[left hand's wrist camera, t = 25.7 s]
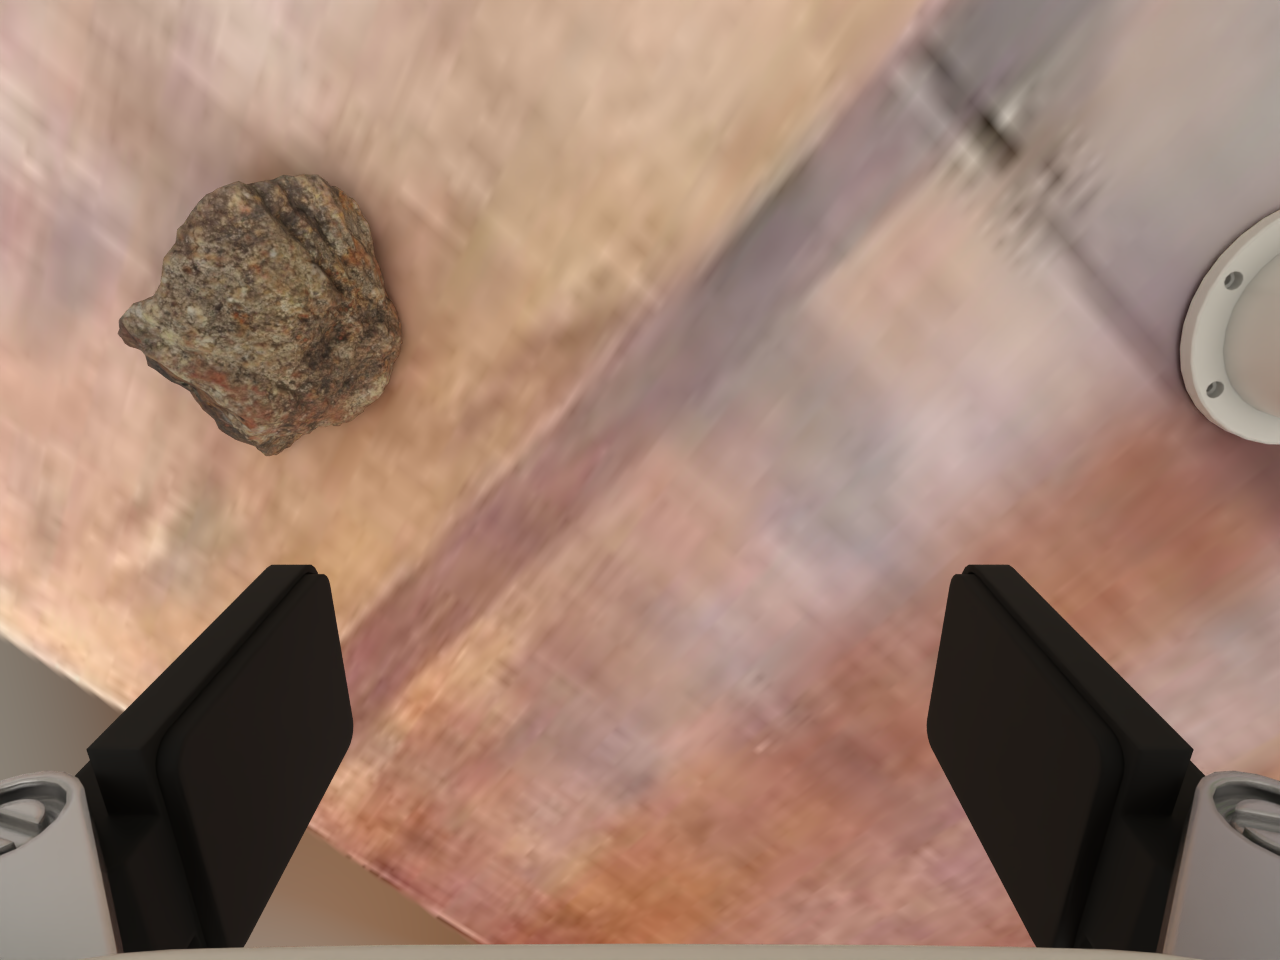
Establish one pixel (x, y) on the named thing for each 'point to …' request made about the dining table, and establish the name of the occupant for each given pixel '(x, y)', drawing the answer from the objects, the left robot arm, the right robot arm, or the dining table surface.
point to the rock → (271, 311)
